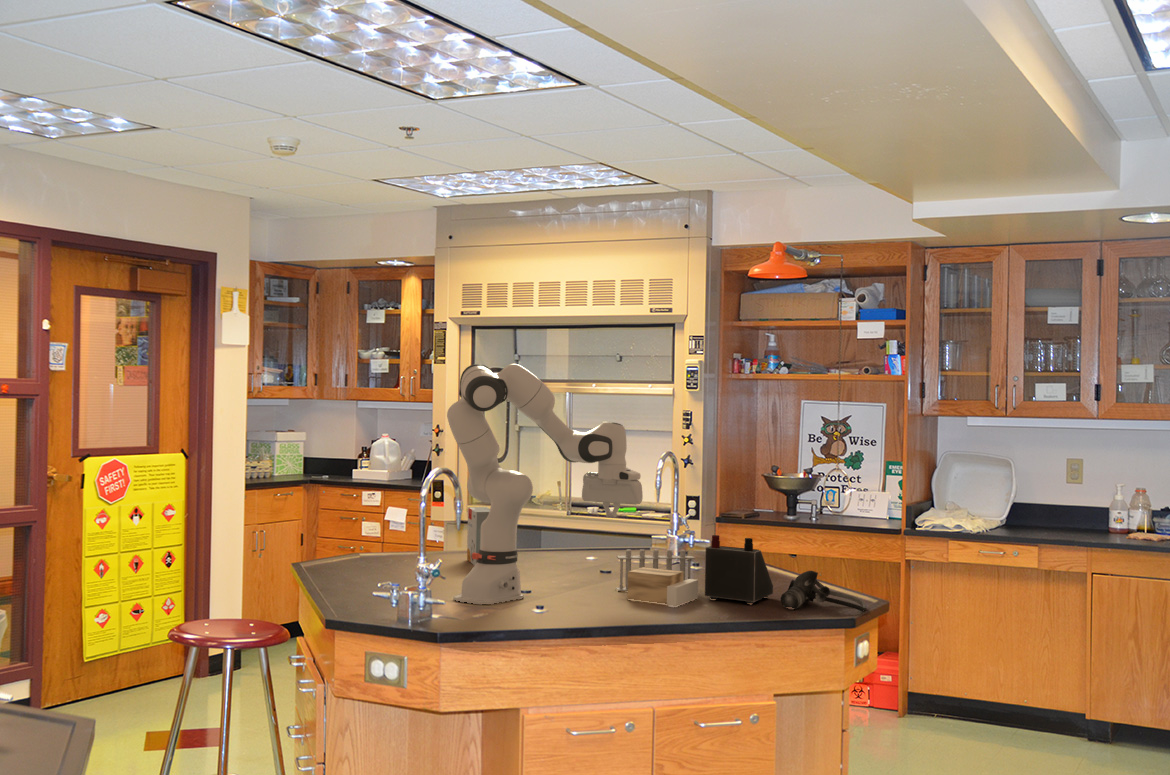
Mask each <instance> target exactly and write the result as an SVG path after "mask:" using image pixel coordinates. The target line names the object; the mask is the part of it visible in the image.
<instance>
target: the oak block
mask: <svg viewBox="0 0 1170 775" xmlns="http://www.w3.org/2000/svg"><path fill="white" fill-rule="evenodd" d="M683 575H684V572H682V571H680V570H673V569H672V570H666V569H661V568H658V569H654V568H653V567H642V568H635V569H631V571H628V592H627V598H626V599H634V600H641V601H649V602H657V603H665V604H667V586H670V585H673V584H675V583H678V582H681V581H683Z"/></svg>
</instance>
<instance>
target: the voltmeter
mask: <svg viewBox="0 0 1170 775" xmlns="http://www.w3.org/2000/svg"><path fill="white" fill-rule="evenodd" d="M753 543H754V542H753V538H752V537H746V538H744V546H743V547H735V546H724V545H723V546H722V545H721V541H720V535H718V534H711V544H710V546H707V547H706V546H705V557H704V560H705V561H704V564H705V567H704V596H705V597H709V599H710V598H711V599H717V598H719V599H726V600H727V599H728V600H736V601H743V602H744V601H745V603H746V602H747V603H755V602H757V601H761V600H763V599H762V598H764V597H769V596H771V595H773V594H774V585H773V581H772V579H771V578H772V577H771V576H770V573H769V570H768V567H767V563H766V561H765V559H764V556H763V553H762V550H760V549H756V548H754V544H753ZM717 600H718V599H717Z"/></svg>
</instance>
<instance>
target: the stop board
mask: <svg viewBox="0 0 1170 775" xmlns="http://www.w3.org/2000/svg"><path fill="white" fill-rule="evenodd" d="M698 593H699V579H694V578H690V579H688V578H687V579H685V580H684V581H681V582H678V583H675V584H673V585H670V586H667V605H673V606H677V605H680V604H682V603H685V602H688V601H691V600H693V599H696V598H698V599H699V594H698ZM667 605H666V606H667Z"/></svg>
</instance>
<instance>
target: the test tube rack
mask: <svg viewBox="0 0 1170 775" xmlns="http://www.w3.org/2000/svg"><path fill="white" fill-rule="evenodd" d="M638 553H639V555H632V549H626V550H625V555H616V558H617V559H619V562H620V564H619V565H620V567H619V568H620V569H619V570H620V571H619V572H620V573H619V574H620V575H619V586H618V587H617V586H616V587H615V590H616V589H617V590H618V591H628V571H631V570H632V560H639V562H638V563H639V568H642V567H645V566H646V562H645V561H646V560H652V568H654V569H659V560H666V569H665V570H673V569H672V567H673V560H679V571H682V572H684V575H683V581H684V580H686V560H687V579H691V569H692V568H691V565H692V564H691V562H692V560H695V559H696V557H695V556H692V555H686V549H680V551H679V555H673V550H672V549H666V555H659V549H653V550H652V554H653V555H646V549H639V552H638ZM624 560H625V578H624V574H623V573H624V568H623V567H624ZM645 568H646V567H645ZM623 578H624V579H625V580H624V581H625V582H623ZM624 583H625V587H624V586H623V584H624Z"/></svg>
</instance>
